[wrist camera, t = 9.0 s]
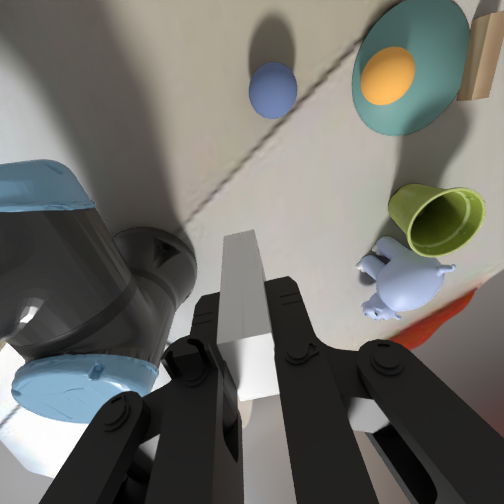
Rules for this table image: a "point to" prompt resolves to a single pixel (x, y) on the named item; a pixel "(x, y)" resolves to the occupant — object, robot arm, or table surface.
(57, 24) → the table surface
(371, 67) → the orange ball
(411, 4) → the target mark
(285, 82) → the blue ball
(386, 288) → the hippopotamus toy
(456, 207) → the plant pot
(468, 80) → the rail
